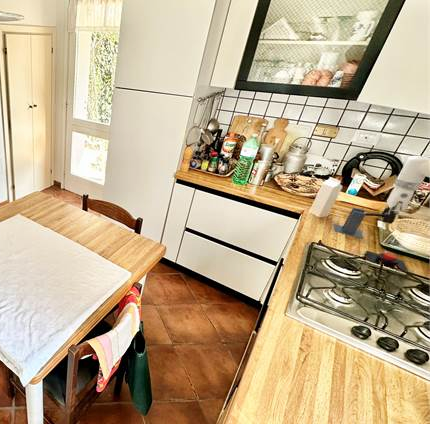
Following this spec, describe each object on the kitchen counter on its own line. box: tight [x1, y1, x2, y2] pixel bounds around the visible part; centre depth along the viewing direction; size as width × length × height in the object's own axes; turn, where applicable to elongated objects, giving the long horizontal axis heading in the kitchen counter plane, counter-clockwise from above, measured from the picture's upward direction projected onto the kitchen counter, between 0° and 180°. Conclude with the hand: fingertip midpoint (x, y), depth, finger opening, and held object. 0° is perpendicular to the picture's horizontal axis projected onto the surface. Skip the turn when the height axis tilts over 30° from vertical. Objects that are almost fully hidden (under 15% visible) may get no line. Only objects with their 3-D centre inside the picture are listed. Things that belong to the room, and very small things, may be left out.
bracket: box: [333, 207, 367, 240], centre depth 151 cm, size 11×9×13 cm
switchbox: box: [363, 250, 409, 273], centre depth 130 cm, size 12×10×4 cm
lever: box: [358, 211, 388, 218], centre depth 145 cm, size 12×5×2 cm, turn 52°
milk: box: [308, 176, 343, 218], centre depth 164 cm, size 6×6×22 cm
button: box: [383, 252, 397, 261], centre depth 129 cm, size 4×4×2 cm
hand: (386, 219), depth 143 cm, fingers closed on lever, 5 cm apart
